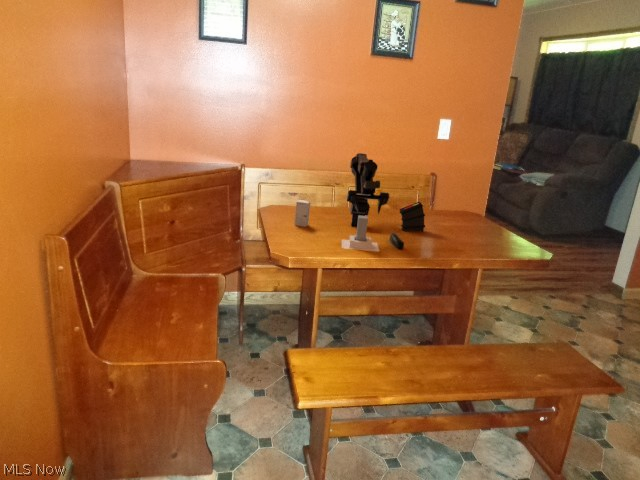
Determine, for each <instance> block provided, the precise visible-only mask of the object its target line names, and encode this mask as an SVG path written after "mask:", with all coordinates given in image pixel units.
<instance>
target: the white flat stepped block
mask: <svg viewBox="0 0 640 480" xmlns="http://www.w3.org/2000/svg"><path fill="white" fill-rule="evenodd" d="M341 249H345V250H346V249H347V250H355V251H365V252H366V251H368V252H380V249H379V245H378V242H373V240H372V237H370V236H366V240H365V241H357V240H356V234H354V235H351V234H350V235H349V239H341Z"/></svg>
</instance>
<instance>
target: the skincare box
mask: <svg viewBox="0 0 640 480" xmlns="http://www.w3.org/2000/svg"><path fill="white" fill-rule="evenodd" d="M310 211H311V201H308V200H303V199H299V200H296V205H295V217H294V225H295V226H299V227H304V228H305V227H307V226H308V225H309V221H310V220H309V219H310Z"/></svg>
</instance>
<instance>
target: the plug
mask: <svg viewBox="0 0 640 480" xmlns="http://www.w3.org/2000/svg"><path fill="white" fill-rule="evenodd" d="M368 220H369V216H367V215H365V216H360V215H358V224H357V227H356V234H355V235H356V240H357V241H365V240H366V237H367V230H368V223H369V221H368Z"/></svg>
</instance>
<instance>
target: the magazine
mask: <svg viewBox="0 0 640 480" xmlns="http://www.w3.org/2000/svg"><path fill="white" fill-rule="evenodd" d="M423 207H424V205H423V204H422V202H421V201H417V202H414V203H412V204H410V205H407V206H404V207H402V208H399V213H400V214H401V218H400V220H401V222H402V224H401V230H402V232H416V233H417V232H419V233H424V230H425V228H426V224H425V216H426V214H425V212H424V208H423Z"/></svg>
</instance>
